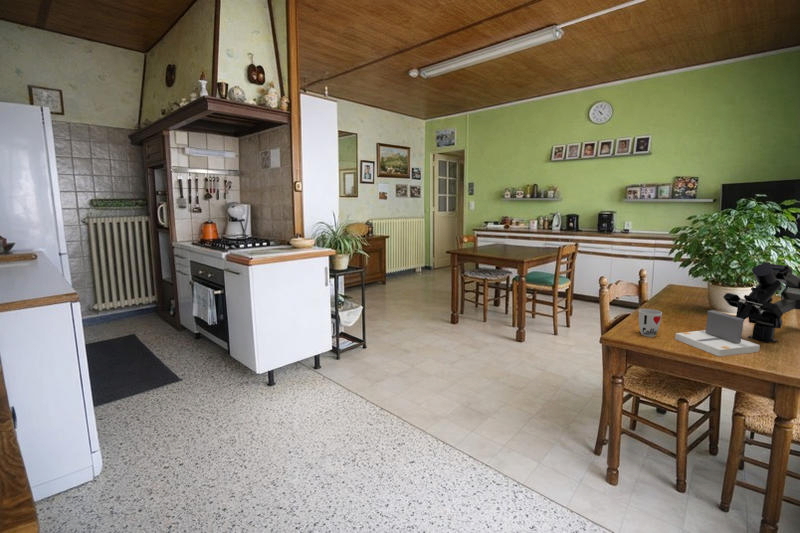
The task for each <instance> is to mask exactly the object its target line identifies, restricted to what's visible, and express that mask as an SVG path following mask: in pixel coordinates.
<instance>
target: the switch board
mask: <svg viewBox="0 0 800 533" xmlns="http://www.w3.org/2000/svg"><path fill="white" fill-rule="evenodd" d="M705 332H706V329H703V330H695V331H685V332H676V333H675V337H674V339H675V341H678V342H681V343H684V344H687V345H689V346H691V347H694V348H696V349H699V350H701V351H704V352H707V353H709V354H712V355H714V356H716V357H726V356H728V357H729V356H733V355H734V356H735V355H742V354H743V355H744V354H752V353H758V352H760V347H761V346H760V344H757V343H754V342H752V341H749V340H745V339H743V338H741V343H734V342H731V341H728V340H725V339H722V338H719V337H717V336H714V335H711V334H708V333H705Z"/></svg>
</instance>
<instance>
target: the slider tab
mask: <svg viewBox="0 0 800 533" xmlns="http://www.w3.org/2000/svg"><path fill="white" fill-rule="evenodd" d="M706 317H707V318H706V323H705V330H706V332H705V333H708V334H711V335H714V336H717V337H719V338H722V339H725V340H728V341H731V342H734V343H741V339H742V335H743V328H744V322H745V320H746V319H742V318H738V317H736V316H735V315H731V314H727V313H724V312H720V311H716V310H714V309H713V310H707V316H706Z"/></svg>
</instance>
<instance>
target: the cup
mask: <svg viewBox="0 0 800 533" xmlns="http://www.w3.org/2000/svg"><path fill="white" fill-rule="evenodd" d="M662 316H663V312H662V311H661V310H657V309H652V308H640V309H638V326H639V328H638V329H639V331H640V334H641V336H643V335H644V337H649V338H653V337H654V336H655V337H656V335H657V334H658V332H659V328H660V326H661V322H662Z"/></svg>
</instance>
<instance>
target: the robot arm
mask: <svg viewBox="0 0 800 533" xmlns="http://www.w3.org/2000/svg"><path fill="white" fill-rule="evenodd" d="M793 272H794V271H793V269H792V267H791V266H790V265H785V264H778V263H776V264H775V263H771V262H767V261H763V262H762V264H757V265H756V266H754V267H753V268H752V274H753V276H754V278H755V280H756V282H757V283H758V284H757V286H755V287H753V286H752V287H751V288H750V291H751V292H750V293H749V294H748V295H746V294H744V295H743V298H741V297H740V296H739V295H738V294H736V293H731V292H726V293H725V294H724V295H723V299H724V300H725V302H726V303H727V304H728V306H731V307H734V308H737V309H736V315H735V317H738V318H742V319H745V320H746V319H748V323H749V324H753V329H752V335H748V336H747V338H749V339H751V340H755V341H758V342H760V343H764V344H767V343H768V344H769V343H774V342H778V341H779V340H778V339H776V338H774V337H775V330H776V329H781V328H782V325H783V319H782V317H783V316H784V314H786V313H789V312H790V311H793V310H800V293H794V292H793V293H791V292H788V289H789V288H790V289H796V290H800V277H798V276H797V275H795V274H794V273H793ZM782 284H783V285H785V288H783V287H782ZM782 289H783V290H782ZM778 291H782V292H780V297H781V298H780V299H781V300H778V301H776V302H773V296H774V295H775V294H776V293H777V292H778ZM772 302H773V303H772Z"/></svg>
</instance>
